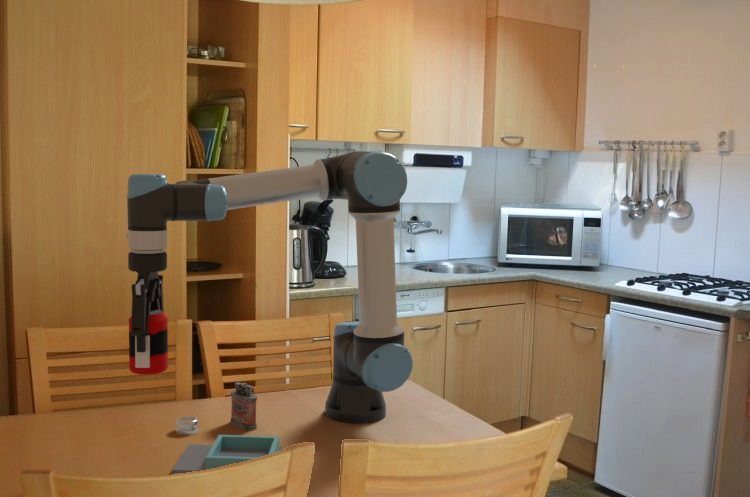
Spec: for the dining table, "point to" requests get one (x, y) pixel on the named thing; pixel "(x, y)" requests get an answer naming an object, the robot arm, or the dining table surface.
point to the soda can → (152, 344)
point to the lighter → (243, 407)
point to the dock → (226, 452)
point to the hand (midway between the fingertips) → (148, 361)
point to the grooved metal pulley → (187, 425)
